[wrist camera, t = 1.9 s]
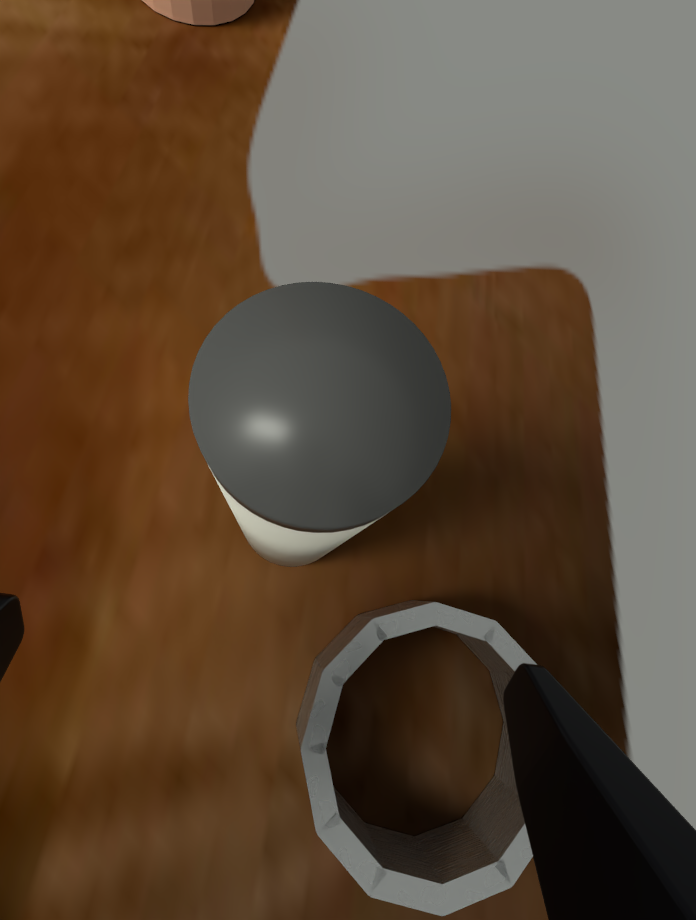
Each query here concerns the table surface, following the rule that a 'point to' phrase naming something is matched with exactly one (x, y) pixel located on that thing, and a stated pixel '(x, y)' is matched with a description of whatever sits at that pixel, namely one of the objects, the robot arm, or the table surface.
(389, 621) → the collar
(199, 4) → the pepper shaker
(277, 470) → the peg
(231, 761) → the table surface
